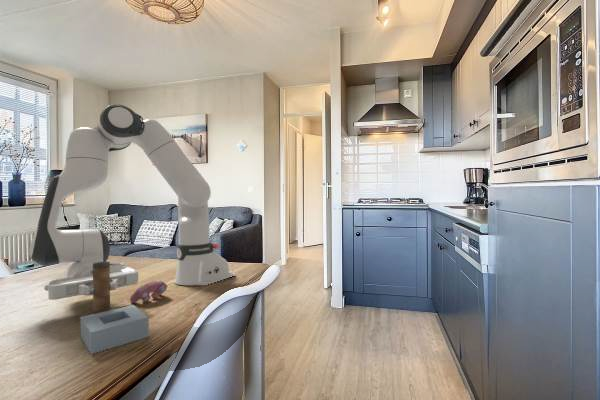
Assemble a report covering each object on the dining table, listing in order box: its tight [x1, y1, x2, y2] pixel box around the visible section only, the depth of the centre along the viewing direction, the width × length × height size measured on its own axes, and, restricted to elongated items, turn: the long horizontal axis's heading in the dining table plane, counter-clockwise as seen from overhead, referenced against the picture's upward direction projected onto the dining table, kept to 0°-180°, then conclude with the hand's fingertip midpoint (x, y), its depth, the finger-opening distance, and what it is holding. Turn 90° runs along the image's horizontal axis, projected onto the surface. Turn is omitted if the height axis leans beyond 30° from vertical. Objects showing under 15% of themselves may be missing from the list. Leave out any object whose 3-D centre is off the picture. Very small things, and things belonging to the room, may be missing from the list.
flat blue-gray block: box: [80, 304, 150, 355], centre depth 69 cm, size 11×11×4 cm
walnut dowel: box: [92, 261, 111, 314], centre depth 77 cm, size 4×4×15 cm
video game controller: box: [129, 280, 168, 304], centre depth 94 cm, size 10×5×7 cm, turn 148°
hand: (102, 289), depth 77 cm, fingers closed on walnut dowel, 4 cm apart
